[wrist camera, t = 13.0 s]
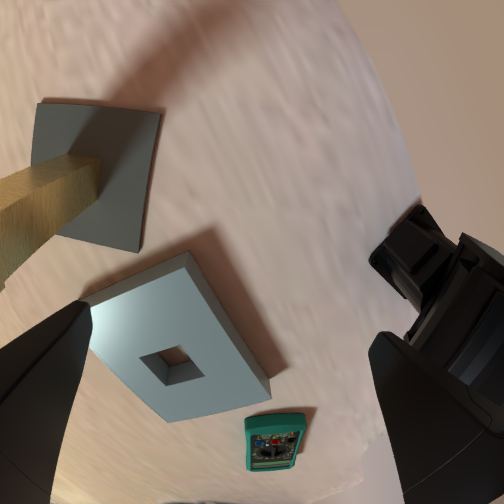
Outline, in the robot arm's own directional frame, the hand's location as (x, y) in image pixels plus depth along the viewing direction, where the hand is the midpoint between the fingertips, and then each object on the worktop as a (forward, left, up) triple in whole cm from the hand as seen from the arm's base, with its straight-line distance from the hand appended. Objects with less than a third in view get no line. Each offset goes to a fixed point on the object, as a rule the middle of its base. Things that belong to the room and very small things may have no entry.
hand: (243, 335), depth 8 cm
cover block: (-4, +14, -13) cm, 19 cm away
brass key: (+10, +5, -13) cm, 17 cm away
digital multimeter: (-24, +23, -14) cm, 36 cm away
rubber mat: (+10, +5, -13) cm, 17 cm away
